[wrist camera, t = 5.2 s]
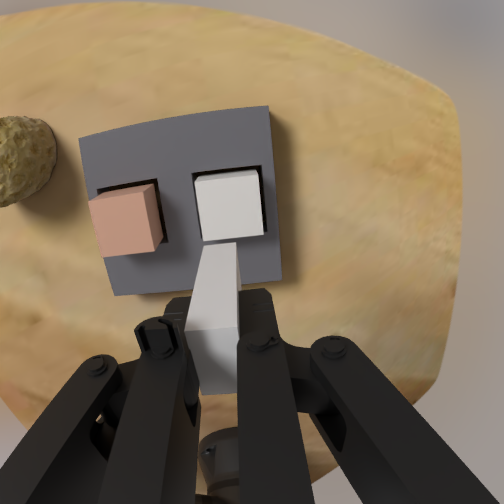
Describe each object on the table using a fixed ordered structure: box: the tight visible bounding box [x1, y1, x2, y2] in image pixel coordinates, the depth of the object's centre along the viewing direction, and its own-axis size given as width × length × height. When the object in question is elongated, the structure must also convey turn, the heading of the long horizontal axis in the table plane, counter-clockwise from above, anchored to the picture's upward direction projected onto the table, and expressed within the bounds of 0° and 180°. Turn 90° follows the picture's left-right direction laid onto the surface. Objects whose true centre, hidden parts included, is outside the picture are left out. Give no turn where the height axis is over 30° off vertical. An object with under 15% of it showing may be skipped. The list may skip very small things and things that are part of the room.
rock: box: [0, 116, 57, 207], centre depth 24 cm, size 10×11×10 cm
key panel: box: [78, 106, 282, 296], centre depth 29 cm, size 16×17×3 cm
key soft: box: [195, 169, 264, 241], centre depth 27 cm, size 5×5×4 cm
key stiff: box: [88, 184, 163, 257], centre depth 26 cm, size 5×5×4 cm
